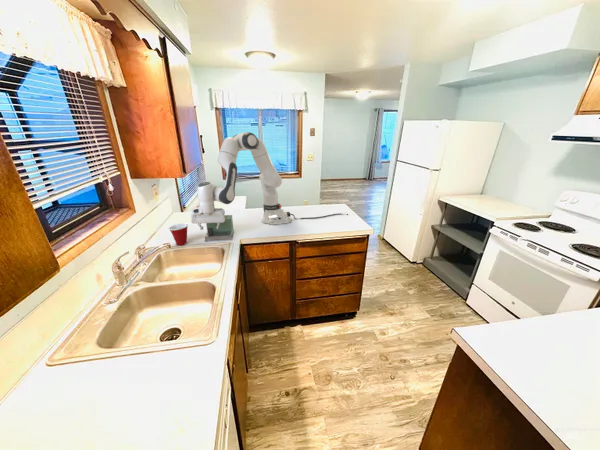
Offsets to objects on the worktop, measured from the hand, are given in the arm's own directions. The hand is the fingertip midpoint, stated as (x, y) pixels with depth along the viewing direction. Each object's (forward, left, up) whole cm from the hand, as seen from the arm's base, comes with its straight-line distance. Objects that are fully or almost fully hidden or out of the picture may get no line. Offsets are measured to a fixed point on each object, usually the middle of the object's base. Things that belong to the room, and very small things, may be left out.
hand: (209, 229), depth 154 cm
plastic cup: (+17, +5, -7) cm, 19 cm away
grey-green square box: (-5, -5, -7) cm, 10 cm away
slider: (0, 0, -4) cm, 4 cm away
